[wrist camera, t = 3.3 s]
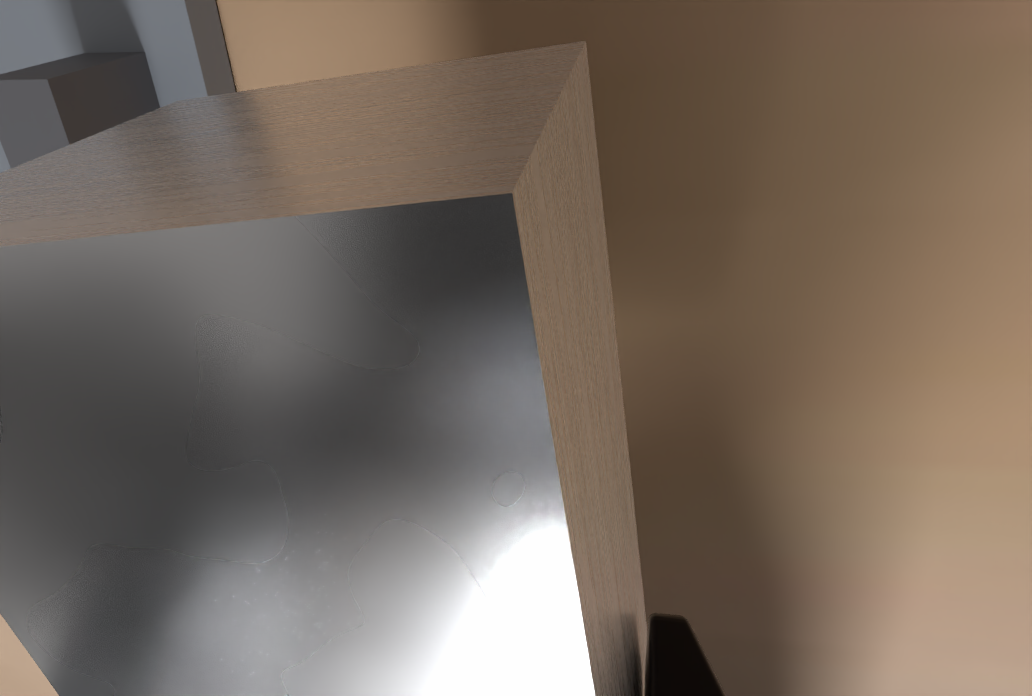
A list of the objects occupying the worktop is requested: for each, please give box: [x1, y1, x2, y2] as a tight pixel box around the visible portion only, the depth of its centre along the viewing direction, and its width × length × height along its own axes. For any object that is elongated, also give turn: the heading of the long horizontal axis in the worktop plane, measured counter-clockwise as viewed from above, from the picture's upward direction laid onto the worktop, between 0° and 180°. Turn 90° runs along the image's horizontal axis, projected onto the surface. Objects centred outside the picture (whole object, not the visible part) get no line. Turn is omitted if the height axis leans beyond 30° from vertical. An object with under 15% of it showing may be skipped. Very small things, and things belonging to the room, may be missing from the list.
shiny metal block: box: [0, 41, 647, 696], centre depth 8 cm, size 12×4×4 cm, turn 9°
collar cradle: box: [0, 0, 236, 173], centre depth 16 cm, size 16×10×4 cm, turn 2°
